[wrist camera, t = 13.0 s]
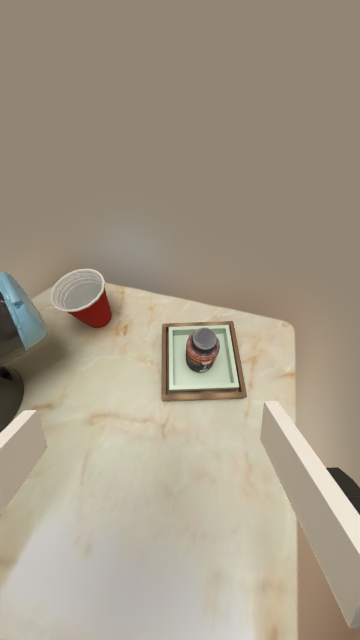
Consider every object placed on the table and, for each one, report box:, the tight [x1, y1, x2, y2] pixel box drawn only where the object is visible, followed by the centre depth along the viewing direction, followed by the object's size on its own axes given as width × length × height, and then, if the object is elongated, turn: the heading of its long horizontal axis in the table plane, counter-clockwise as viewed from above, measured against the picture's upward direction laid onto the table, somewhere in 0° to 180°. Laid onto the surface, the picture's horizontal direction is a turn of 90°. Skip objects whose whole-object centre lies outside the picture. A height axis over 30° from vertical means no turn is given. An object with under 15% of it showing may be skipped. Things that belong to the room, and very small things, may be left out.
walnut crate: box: [162, 321, 247, 401], centre depth 43 cm, size 16×16×3 cm
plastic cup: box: [50, 269, 111, 328], centre depth 44 cm, size 11×11×12 cm
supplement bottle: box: [186, 327, 220, 373], centre depth 37 cm, size 6×6×11 cm
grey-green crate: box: [169, 325, 239, 393], centre depth 42 cm, size 13×13×4 cm
